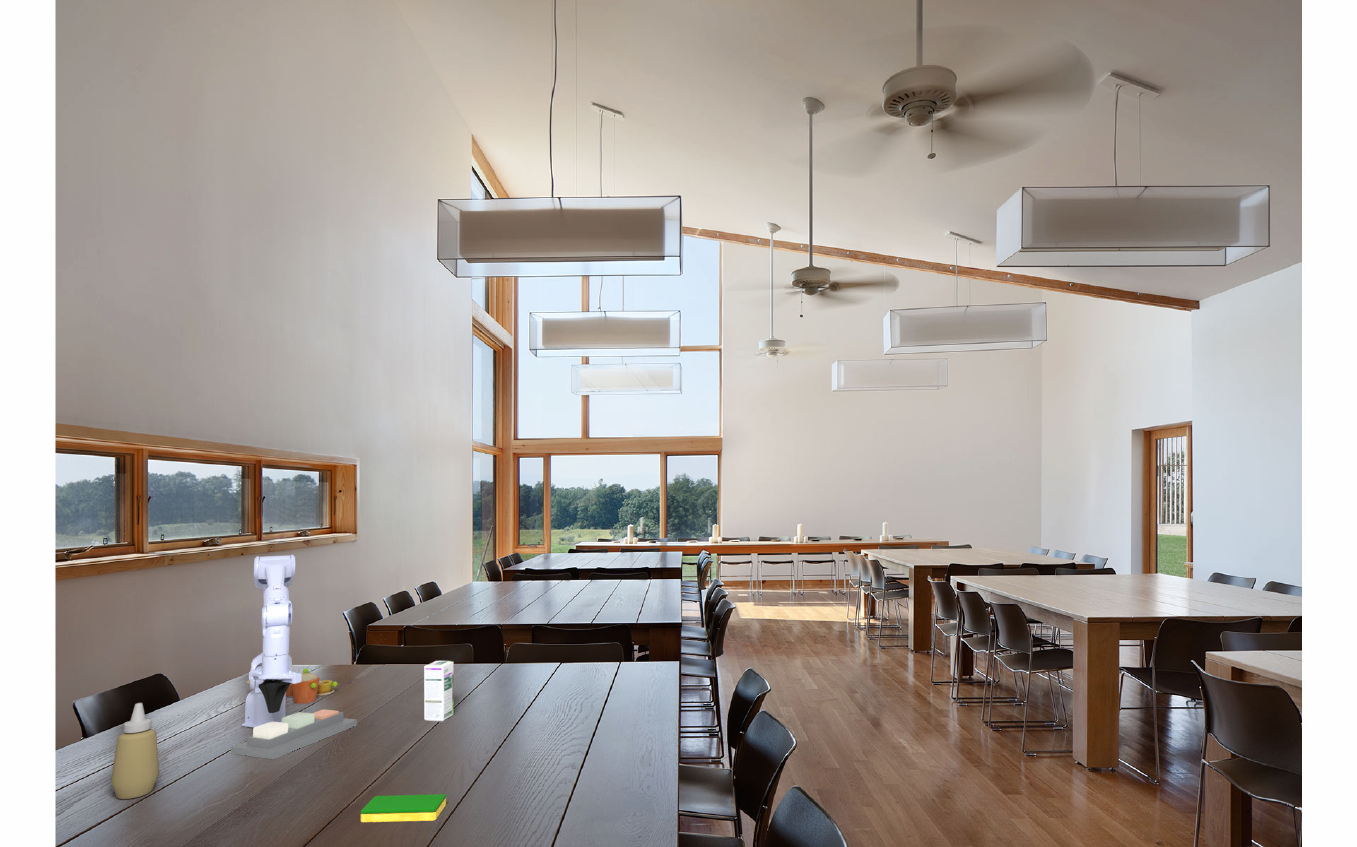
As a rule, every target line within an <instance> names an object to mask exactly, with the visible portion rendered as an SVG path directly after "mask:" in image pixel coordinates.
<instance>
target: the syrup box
mask: <svg viewBox="0 0 1357 847" xmlns="http://www.w3.org/2000/svg"><path fill="white" fill-rule="evenodd" d="M423 670H424V671H423V672H424V673H423V678H424V679H423V683H424V685H423V688H424V691H423V692H424V694H423V698H424V700H423V702H424V705H423V706H424V707H423V709H424V712H423V714H424V715H423V716H424V718H423V719H424V721H431V722H444V721H446V720H447V719H448V718H450V717H452V716H454V714H455V713H454V712H455V711H454V710H455V707H454V706H455V705H454V704H455V701H454V700H455V697H454V696H455V695H454V694H455V693H454V688H455V686H454V684H455V683H454V680H455V679H454V660H435V661H433V662H430V663H429V664H427V665H424V668H423Z"/></svg>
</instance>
